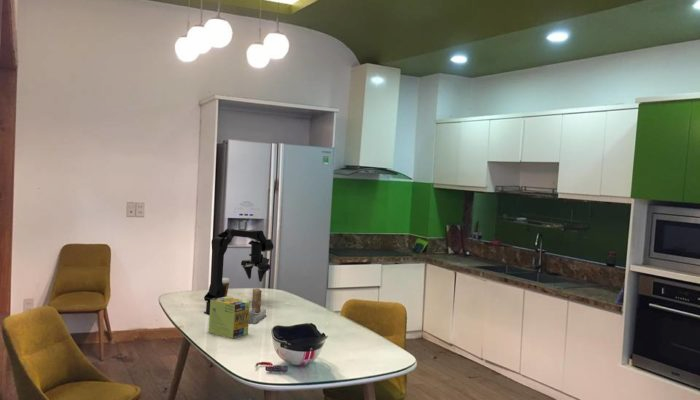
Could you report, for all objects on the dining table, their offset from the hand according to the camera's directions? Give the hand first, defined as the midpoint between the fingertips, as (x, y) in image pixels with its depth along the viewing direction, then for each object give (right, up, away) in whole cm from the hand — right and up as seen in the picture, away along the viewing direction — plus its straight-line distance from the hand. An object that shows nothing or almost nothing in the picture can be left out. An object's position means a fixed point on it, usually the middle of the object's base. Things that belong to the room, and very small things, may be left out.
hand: (254, 280), depth 323 cm
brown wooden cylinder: (-22, -13, +15) cm, 30 cm away
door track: (+4, -16, -27) cm, 32 cm away
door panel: (+2, -16, -11) cm, 19 cm away
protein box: (-3, -17, -55) cm, 58 cm away
